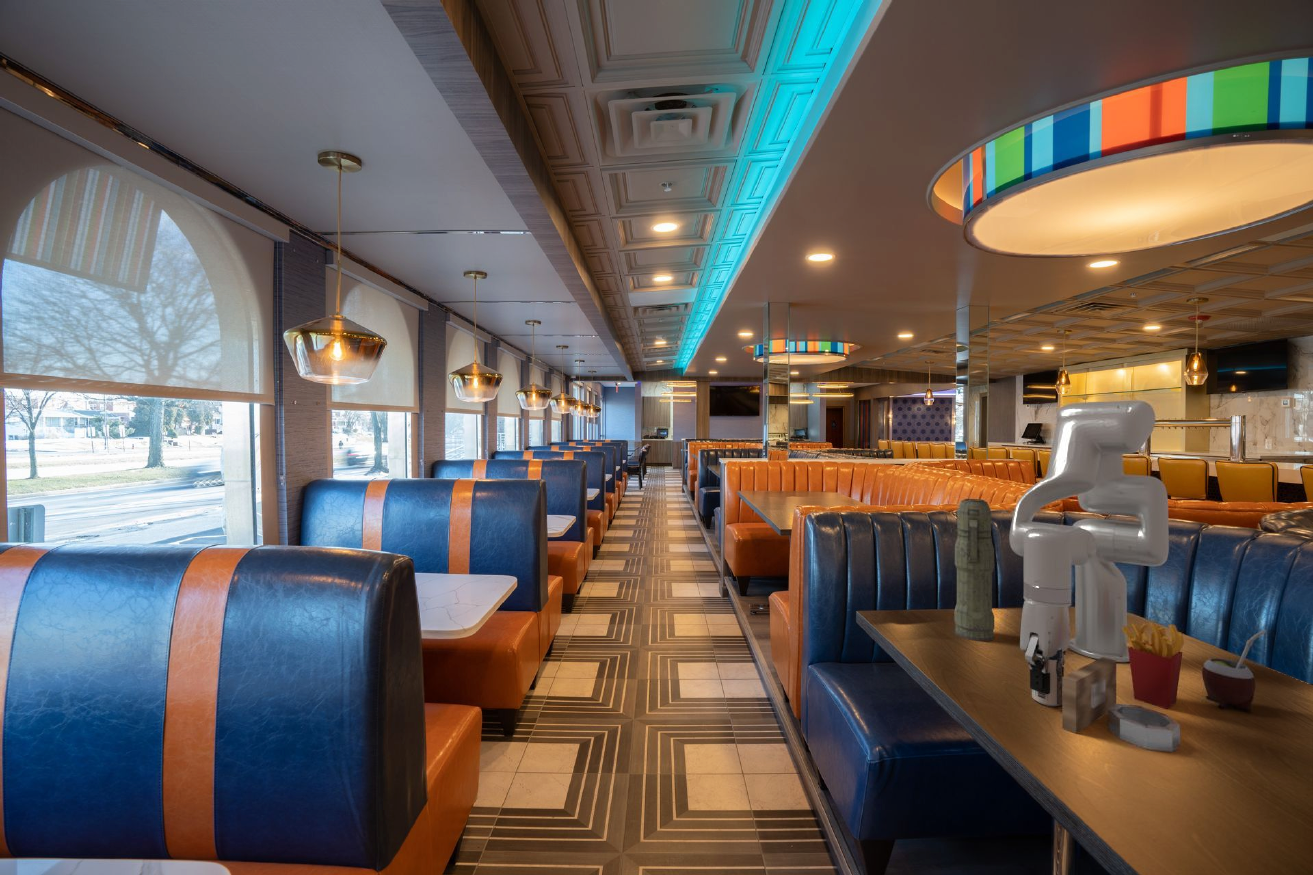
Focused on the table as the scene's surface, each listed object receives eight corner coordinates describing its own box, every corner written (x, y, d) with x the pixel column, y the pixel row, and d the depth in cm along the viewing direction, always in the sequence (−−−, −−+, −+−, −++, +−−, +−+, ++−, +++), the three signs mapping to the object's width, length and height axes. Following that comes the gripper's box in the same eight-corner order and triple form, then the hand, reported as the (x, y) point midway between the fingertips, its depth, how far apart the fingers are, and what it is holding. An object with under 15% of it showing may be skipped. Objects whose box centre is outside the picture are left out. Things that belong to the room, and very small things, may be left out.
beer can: (1067, 709, 103) (1067, 645, 103) (1039, 706, 104) (1039, 643, 104) (1054, 697, 108) (1054, 636, 108) (1027, 695, 109) (1027, 634, 109)
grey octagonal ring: (1122, 719, 99) (1122, 699, 99) (1185, 741, 92) (1185, 720, 92) (1102, 732, 95) (1102, 712, 95) (1166, 756, 88) (1166, 735, 88)
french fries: (1172, 712, 102) (1172, 632, 102) (1116, 695, 109) (1116, 619, 109) (1187, 700, 106) (1187, 623, 106) (1133, 684, 113) (1133, 611, 113)
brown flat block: (1103, 703, 105) (1103, 656, 105) (1118, 708, 103) (1118, 661, 103) (1062, 728, 96) (1062, 677, 96) (1078, 734, 94) (1078, 682, 94)
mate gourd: (1194, 700, 106) (1194, 623, 106) (1214, 692, 109) (1214, 618, 110) (1248, 718, 99) (1248, 636, 99) (1268, 709, 103) (1267, 629, 103)
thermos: (956, 640, 138) (956, 501, 138) (952, 625, 149) (952, 496, 149) (997, 645, 134) (997, 503, 134) (990, 630, 145) (990, 498, 145)
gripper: (1045, 583, 113) (1046, 670, 113) (1003, 595, 105) (1003, 690, 105) (1089, 591, 107) (1089, 684, 107) (1047, 605, 98) (1047, 707, 98)
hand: (1046, 686), depth 106 cm, fingers closed on beer can, 4 cm apart
